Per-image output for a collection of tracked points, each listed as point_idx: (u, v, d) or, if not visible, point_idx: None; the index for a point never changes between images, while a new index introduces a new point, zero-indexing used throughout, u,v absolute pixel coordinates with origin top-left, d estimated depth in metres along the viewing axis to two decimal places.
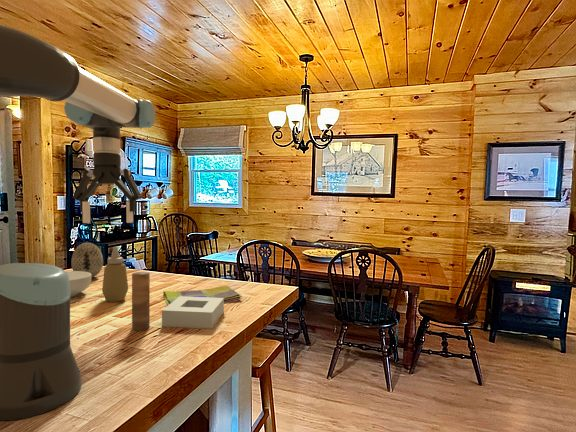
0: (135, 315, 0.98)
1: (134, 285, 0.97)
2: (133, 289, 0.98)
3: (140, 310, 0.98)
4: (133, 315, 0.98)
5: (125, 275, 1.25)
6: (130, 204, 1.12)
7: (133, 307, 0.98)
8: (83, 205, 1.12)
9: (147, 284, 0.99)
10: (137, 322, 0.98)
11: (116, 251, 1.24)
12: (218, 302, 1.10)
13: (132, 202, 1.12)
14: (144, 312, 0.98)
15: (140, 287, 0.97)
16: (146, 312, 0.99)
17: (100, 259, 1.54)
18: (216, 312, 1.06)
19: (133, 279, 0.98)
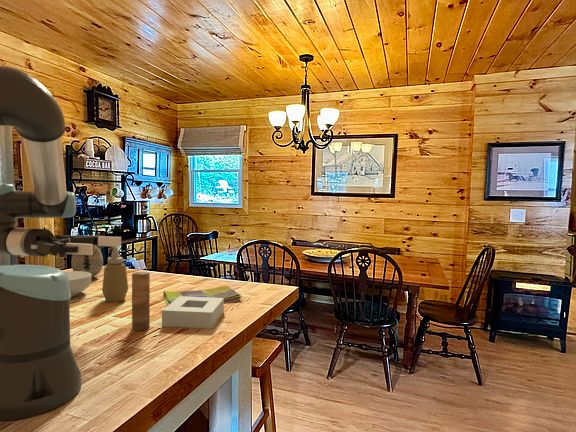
0: (135, 315, 0.98)
1: (134, 285, 0.97)
2: (133, 289, 0.98)
3: (140, 310, 0.98)
4: (133, 315, 0.98)
5: (125, 275, 1.25)
6: None
7: (133, 307, 0.98)
8: (71, 243, 0.93)
9: (147, 284, 0.99)
10: (137, 322, 0.98)
11: (116, 251, 1.24)
12: (218, 302, 1.10)
13: None
14: (144, 312, 0.98)
15: (140, 287, 0.97)
16: (146, 312, 0.99)
17: (100, 259, 1.54)
18: (216, 312, 1.06)
19: (133, 279, 0.98)
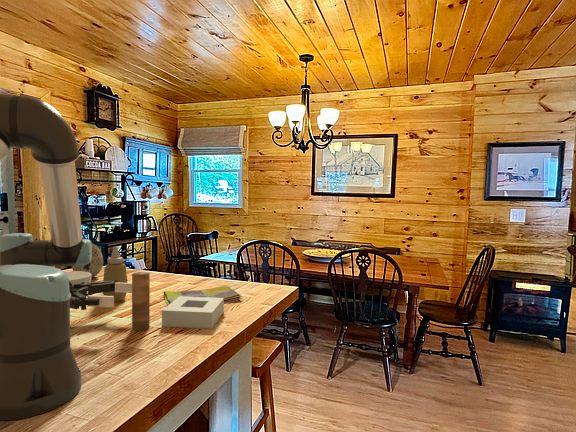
0: (135, 315, 0.98)
1: (134, 285, 0.97)
2: (133, 289, 0.98)
3: (140, 310, 0.98)
4: (133, 315, 0.98)
5: (125, 275, 1.25)
6: None
7: (133, 307, 0.98)
8: (92, 295, 0.94)
9: (147, 284, 0.99)
10: (137, 322, 0.98)
11: (116, 251, 1.24)
12: (218, 302, 1.10)
13: None
14: (144, 312, 0.98)
15: (140, 287, 0.97)
16: (146, 312, 0.99)
17: (100, 259, 1.54)
18: (216, 312, 1.06)
19: (133, 279, 0.98)
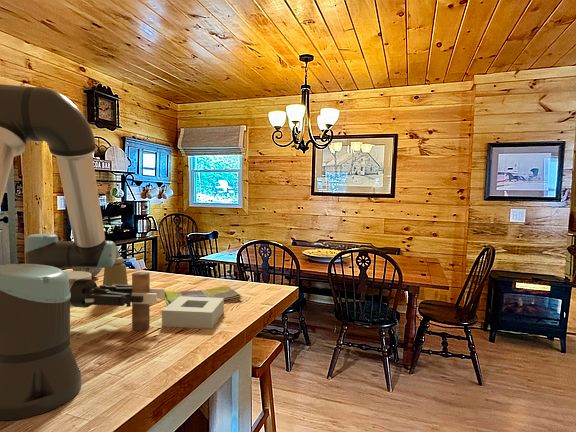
0: (135, 315, 0.98)
1: (134, 285, 0.97)
2: (133, 289, 0.98)
3: (140, 310, 0.98)
4: (133, 315, 0.98)
5: (125, 275, 1.25)
6: None
7: (133, 307, 0.98)
8: (136, 293, 0.97)
9: (147, 284, 0.99)
10: (137, 322, 0.98)
11: (116, 251, 1.24)
12: (218, 302, 1.10)
13: None
14: (144, 312, 0.98)
15: (140, 287, 0.97)
16: (146, 312, 0.99)
17: None
18: (216, 312, 1.06)
19: (133, 279, 0.98)
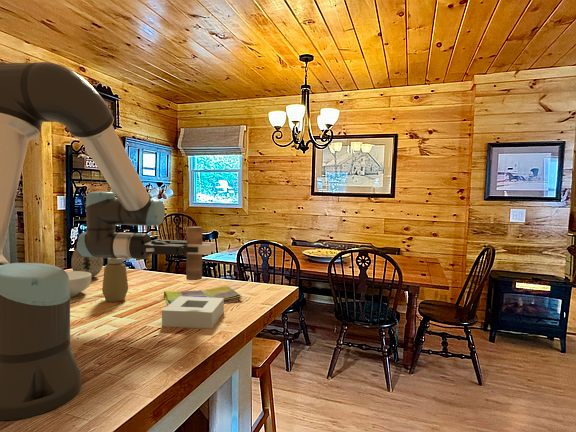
0: (189, 265, 1.05)
1: (190, 237, 1.05)
2: (188, 241, 1.05)
3: (195, 261, 1.05)
4: (188, 265, 1.06)
5: (125, 275, 1.25)
6: None
7: (188, 258, 1.06)
8: (191, 244, 1.05)
9: (200, 237, 1.06)
10: (191, 271, 1.05)
11: None
12: (218, 302, 1.10)
13: None
14: (198, 263, 1.06)
15: (195, 239, 1.05)
16: (200, 262, 1.07)
17: (100, 259, 1.54)
18: (216, 312, 1.06)
19: (188, 232, 1.05)
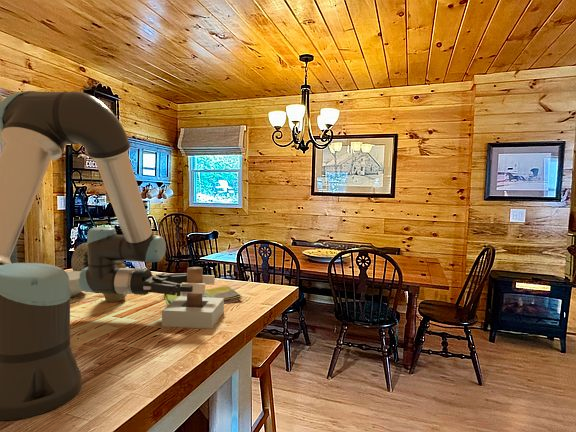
0: (190, 306, 1.06)
1: (190, 279, 1.06)
2: None
3: (195, 302, 1.06)
4: None
5: None
6: None
7: (188, 299, 1.06)
8: (186, 283, 1.03)
9: (201, 278, 1.07)
10: None
11: None
12: (218, 302, 1.10)
13: None
14: (198, 304, 1.07)
15: (195, 280, 1.06)
16: (200, 304, 1.07)
17: None
18: (216, 312, 1.06)
19: (189, 273, 1.06)
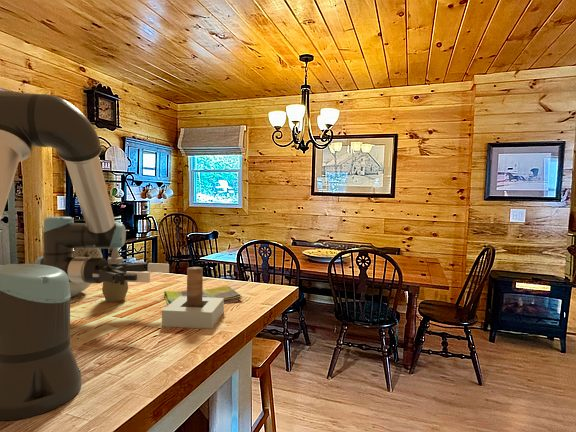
0: (190, 306, 1.06)
1: (190, 279, 1.06)
2: (188, 283, 1.06)
3: (195, 302, 1.06)
4: None
5: None
6: None
7: (188, 299, 1.06)
8: (130, 271, 1.02)
9: (201, 278, 1.07)
10: None
11: (116, 251, 1.24)
12: (218, 302, 1.10)
13: None
14: (198, 304, 1.07)
15: (195, 280, 1.06)
16: (200, 304, 1.07)
17: None
18: (216, 312, 1.06)
19: (189, 273, 1.06)
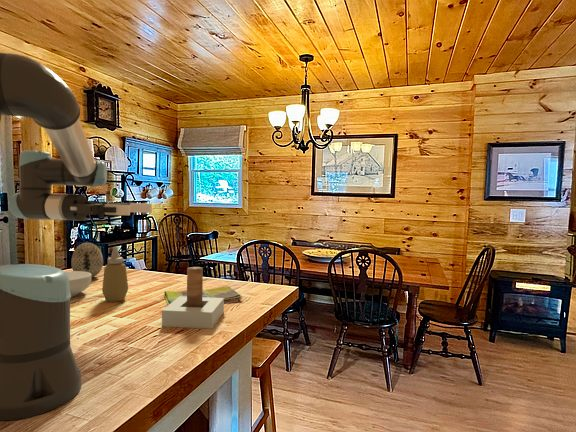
0: (190, 306, 1.06)
1: (190, 279, 1.06)
2: (188, 283, 1.06)
3: (195, 302, 1.06)
4: None
5: (125, 275, 1.25)
6: None
7: (188, 299, 1.06)
8: (109, 204, 0.98)
9: (201, 278, 1.07)
10: None
11: (116, 251, 1.24)
12: (218, 302, 1.10)
13: None
14: (198, 304, 1.07)
15: (195, 280, 1.06)
16: (200, 304, 1.07)
17: (100, 259, 1.54)
18: (216, 312, 1.06)
19: (189, 273, 1.06)
